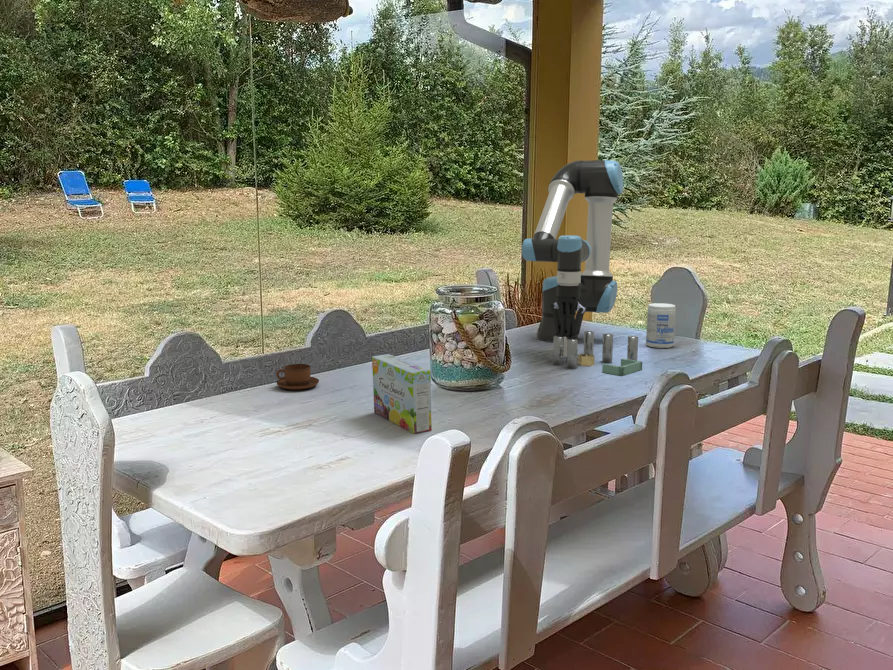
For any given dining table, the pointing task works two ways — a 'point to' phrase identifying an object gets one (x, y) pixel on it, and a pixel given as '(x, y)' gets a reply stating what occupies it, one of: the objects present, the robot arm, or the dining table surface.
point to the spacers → (590, 349)
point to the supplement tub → (660, 325)
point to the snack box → (402, 393)
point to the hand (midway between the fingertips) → (566, 356)
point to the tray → (623, 367)
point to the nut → (586, 359)
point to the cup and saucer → (296, 377)
